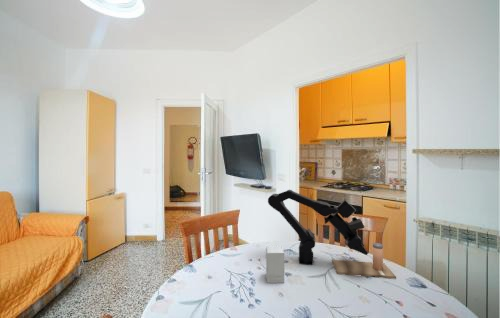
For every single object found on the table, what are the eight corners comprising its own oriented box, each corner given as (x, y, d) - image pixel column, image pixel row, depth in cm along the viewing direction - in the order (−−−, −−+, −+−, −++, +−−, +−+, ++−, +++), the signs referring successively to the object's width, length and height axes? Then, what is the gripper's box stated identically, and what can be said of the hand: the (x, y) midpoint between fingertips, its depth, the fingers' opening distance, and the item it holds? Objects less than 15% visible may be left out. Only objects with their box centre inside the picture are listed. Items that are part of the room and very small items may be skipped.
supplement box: (284, 283, 91) (284, 253, 91) (267, 283, 91) (266, 253, 91) (282, 273, 99) (282, 245, 99) (266, 273, 99) (265, 245, 99)
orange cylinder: (377, 271, 98) (377, 246, 98) (370, 266, 102) (370, 243, 102) (384, 270, 99) (385, 245, 99) (378, 265, 103) (378, 242, 103)
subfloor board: (336, 274, 98) (336, 271, 98) (331, 261, 110) (331, 259, 110) (396, 278, 94) (396, 276, 94) (384, 265, 105) (384, 263, 105)
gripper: (356, 218, 94) (385, 247, 91) (350, 208, 112) (374, 232, 109) (336, 234, 97) (363, 263, 94) (333, 222, 115) (356, 246, 111)
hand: (365, 250), depth 102 cm, fingers open, 9 cm apart
